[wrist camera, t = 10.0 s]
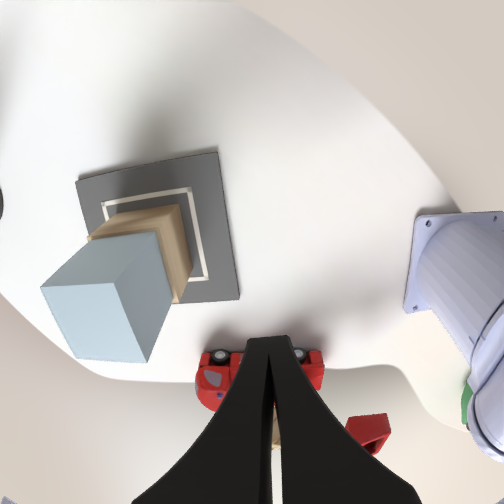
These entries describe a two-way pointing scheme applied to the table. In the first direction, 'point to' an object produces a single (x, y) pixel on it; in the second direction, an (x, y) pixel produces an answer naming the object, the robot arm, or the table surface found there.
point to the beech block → (168, 236)
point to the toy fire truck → (219, 381)
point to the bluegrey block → (111, 298)
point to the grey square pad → (192, 211)
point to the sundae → (1, 205)
